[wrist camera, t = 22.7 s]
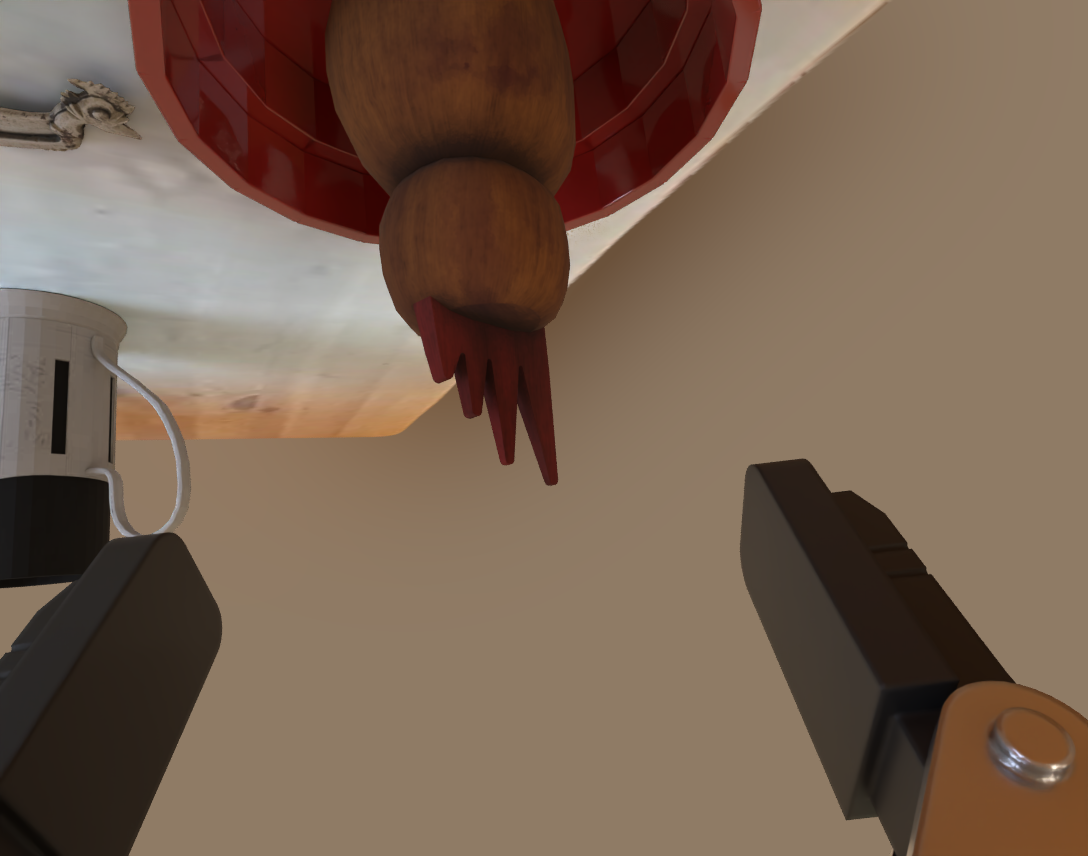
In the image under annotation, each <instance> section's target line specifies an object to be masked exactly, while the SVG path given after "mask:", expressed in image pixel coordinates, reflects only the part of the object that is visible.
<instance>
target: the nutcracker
mask: <svg viewBox="0 0 1088 856" xmlns="http://www.w3.org/2000/svg"><path fill="white" fill-rule="evenodd" d="M67 80H68V82H70V83H71V84H73V85H75V86H76V87H78V88H81V89H83V90H85V91H83V92H81V93H80V94H75V93H73V92H72V91H69V90H66V93H65V92H61V95H62V96H63V97H61V99H60V100H61V103H59V104H58V105H56V106H55V107H54V108H53V110H51V112H50V113H40V112H26V111H18V110H13V109H7V108H2V107H0V146H8V147H20V148H35V149H44V150H53V151H57V150H59V151H66V150H68V149H71V150H73V149H77V148H78V147H80V145H81V142H82V139H83V136H84V127H85V124H91V125H94V126H96V127H98V128H100V129H102V130H104V131H107V132H109V133H115V134H119V135H124V136H128V137H132V138H136V139H140V140H141V139H142V137H141V136H140V135H139V134H137V133H136V132H135V131H134V130H133V129H131V128H130V127H128V126H127V125H125V124H124V123H126V122H128V121H129V119H128V118H127V117H126V116H127V115H128V114H131V113H132V111H133V110H134V108H135V107H134V106H131V105H128V101H125V100H124V98H123V97H117V96H118V93H116V92H111V91H110V88H106V87H104V86H103V85H102V84H94V83H93V82H92V81H89V82H83V81H80V80H78V79H67Z"/></svg>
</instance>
